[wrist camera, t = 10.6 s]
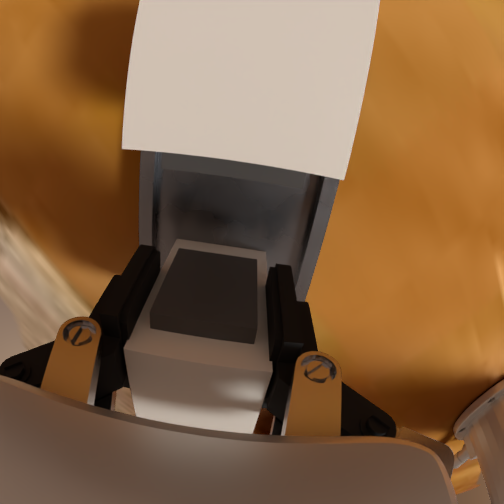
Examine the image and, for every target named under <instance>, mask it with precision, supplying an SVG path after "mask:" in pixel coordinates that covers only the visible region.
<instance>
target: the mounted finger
mask: <svg viewBox="0 0 504 504" xmlns="http://www.w3.org/2000/svg"><path fill="white" fill-rule="evenodd" d="M379 4H380V0H140V2H139V7H138V12H137V17H136V23H135V28H134V34H133V40H132V47H131V53H130V61H129V68H128V76H127V85H126V95H125V106H124V119H123V135H122V149H131V150H144V151H156V152H162V161H161V169H169V170H178V171H187V172H195V173H203V174H210V175H218V176H225V177H232V178H239V179H246V180H252V181H258V182H265V183H271V184H277V185H283V186H289V187H294V188H300V189H303V186H304V181H305V177H306V173H310V174H316V175H321V176H325V177H330V178H335V179H340V180H344V178H345V174H346V170H347V166H348V162H349V158H350V154H351V150H352V146H353V142H354V137H355V133H356V129H357V124H358V120H359V115H360V110H361V106H362V101H363V96H364V91H365V86H366V81H367V76H368V71H369V66H370V60H371V55H372V49H373V43H374V37H375V31H376V25H377V18H378V11H379Z"/></svg>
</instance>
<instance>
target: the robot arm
mask: <svg viewBox="0 0 504 504" xmlns="http://www.w3.org/2000/svg"><path fill="white" fill-rule="evenodd" d="M159 273H160V251H157V250H156V247H155V246H149V245H142V244H141V245H140V246H139V247H138V249H137V250H136V252H135V254H134V255H133V257H132V258H131V260H130V262H129V263H128V265H127V267H126V268H125V270H124V272H123V273H122V275H114V277H113V278H112V280H111V281H110V283H109V284H108V286H107V288H106V289H105V291H104V293H103V294H102V296H101V298H100V299H99V301H98V303H97V304H96V306H95V308H94V309H93V311H92V313H91V315H90V316H89V318H88V317H75V318H72V319H70V320H68V321H66V322H65V323H64V324H63V325H61V327H60V329H59V331H58V334H57V337H56V339H55V341H53V342H50V343H47V344H45V345H42V346H39V347H36V348H34V349H31V350H28V351H26V352H23V353H20V354H17V355H15V356H12V357H10V358H8V359H6V360H5V361H4V362H3V363H2V364H1V366H0V504H458V503H457V499H456V495H455V491H454V488H453V485H452V483H451V480H450V479H451V475H452V470H453V468H454V469H455V468H458V467H459V466H461V465H462V464H463V463H465V462H466V461H467V459H471V460H472V459H475V458H477V459H478V462H479V465H480V468H481V471H482V474H483V477H484V480H485V484H486V487H487V490H488V494H489V497H490V500H491V504H504V379H503V380H502V381H500V382H499V383H497V384H496V385H495V386H493V387H492V388H491V389H489V390H488V391H487V392H485V393H484V394H483V395H482V396H480V397H479V398H478V399H477V400H476V401H475V402H473V403H472V404H471V405H470V406H469V407H468V408H467V409H466V410H465V411H464V412H463V413H462V415H461V416H460V417H459V418H458V420H457V421H456V423H455V425H454V427H453V432H454V435H455V437H456V438H457V439H458V440H464V442H465V444H464V445H463V448H462V450H461V451H459V452H457V453H456V454H455V455H454V454H453V452H452V450H451V449H450V448H449V446H447V445H445V444H444V443H441V442H439V441H436V440H434V439H431V438H429V437H427V436H424V435H422V434H420V433H417V432H415V431H413V430H410V429H408V428H406V427H404V426H402V427H401V428H398V427H396V425H395V422H394V421H393V419H392V418H391V417H390V416H389V415H388V414H387V413H385V412H384V411H383V410H381V409H380V408H378V407H377V406H375V405H374V404H372V403H371V402H370V401H368V400H367V399H365V398H364V397H362V396H361V395H360V394H358V393H357V392H355V391H354V390H353V389H351V388H350V387H348V386H347V385H346V384H344V383H343V382H342V373H341V368H340V366H339V364H338V362H337V361H336V360H335V359H334V358H333V357H331V356H329V355H328V354H325V353H322V352H318V349H317V344H316V338H315V333H314V328H313V323H312V318H311V313H310V308H309V304H308V303H307V302H303V301H297V297H296V291H295V285H294V280H293V274H292V268H291V266H290V265H284V264H277V263H276V265H275V267H270V268H269V271H268V276H267V281H266V285H265V290H266V308H267V326H268V344H269V361H272V368H273V373H272V376H271V379H270V382H269V385H268V388H267V391H266V395H265V398H264V401H263V404H262V408H267V410H268V411H269V412H271V413H272V414H273V415H274V417H273V421H272V426H271V431H270V435H261V434H248V433H237V432H227V431H218V430H210V429H203V428H196V427H189V426H183V425H177V424H171V423H166V422H160V421H155V420H150V419H146V418H141V417H136V416H132V415H128V414H124V413H120V412H116V411H115V400H116V390H118V389H120V388H122V387H127V388H130V384H129V379H128V373H127V367H126V361H125V355H124V349H123V348H124V346H125V344H126V342H127V340H129V339H130V336H131V334H132V332H133V329H134V327H135V325H136V323H137V320H138V318H139V316H140V314H141V312H142V309H143V307H144V305H145V303H146V301H147V298H148V296H149V294H150V292H151V290H152V288H153V286H154V284H155V281H156V279H157V277H158V275H159Z"/></svg>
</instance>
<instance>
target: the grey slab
mask: <svg viewBox="0 0 504 504" xmlns="http://www.w3.org/2000/svg"><path fill="white" fill-rule="evenodd" d="M161 161H162V152H156V151H144V150H141V157H140V181H139V246H140V245H141V244H142V245H149V246H155V247H156V250H157V251H160V271H161V269H162V267H163V265H164V263H165V261H166V259H167V257H168V255H169V253H170V251H171V249H172V247H173V245H174V243H175V241H176V240H177V239H183V240H190V241H197V242H204V243H211V244H217V245H224V246H231V247H238V248H245V249H251V250H258V251H265V252H266V260H267V276H268V271H269V268H270V267H275V265H276V263H277V264H284V265H290V266H291V268H292V274H293V280H294V285H295V291H296V297H297V301H303V302H305V299H306V295H307V292H308V289H309V286H310V283H311V279H312V276H313V273H314V270H315V266H316V263H317V260H318V256H319V253H320V249H321V246H322V242H323V239H324V235H325V232H326V228H327V225H328V221H329V217H330V214H331V210H332V206H333V203H334V199H335V195H336V191H337V187H338V184H339V180H340V179H335V178H330V177H325V176H321V175H316V174H310V173H306V177H305V181H304V186H303V189H300V188H294V187H289V186H283V185H277V184H271V183H265V182H258V181H252V180H246V179H239V178H232V177H225V176H218V175H210V174H203V173H195V172H187V171H178V170H169V169H161Z"/></svg>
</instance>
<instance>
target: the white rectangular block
mask: <svg viewBox="0 0 504 504" xmlns="http://www.w3.org/2000/svg"><path fill="white" fill-rule="evenodd" d="M266 281H267V260H266V252H265V251H258V250H251V249H245V248H238V247H231V246H224V245H217V244H211V243H204V242H197V241H190V240H183V239H177V240H176V241H175V243H174V245H173V247H172V249H171V251H170V253H169V255H168V257H167V259H166V261H165V263H164V265H163V267H162V269H161V271H160V273H159V275H158V277H157V279H156V281H155V284H154V286H153V288H152V290H151V292H150V294H149V296H148V298H147V301H146V303H145V305H144V307H143V309H142V312H141V314H140V316H139V318H138V320H137V323H136V325H135V327H134V329H133V332H132V334H131V336H130V339H129V340H127V342H126V344H125V346H124V348H123V349H124V355H125V361H126V367H127V373H128V379H129V384H130V389H131V394H132V399H133V404H134V409H135V413H136V417H141V418H146V419H150V420H155V421H160V422H166V423H171V424H177V425H183V426H189V427H196V428H203V429H210V430H218V431H227V432H237V433H248V434H252V433H253V431H254V428H255V425H256V422H257V419H258V416H259V413H260V410H261V407H262V404H263V401H264V398H265V395H266V391H267V388H268V385H269V382H270V379H271V376H272V373H273V368H272V361H269V344H268V326H267V308H266V290H265V285H266Z"/></svg>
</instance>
